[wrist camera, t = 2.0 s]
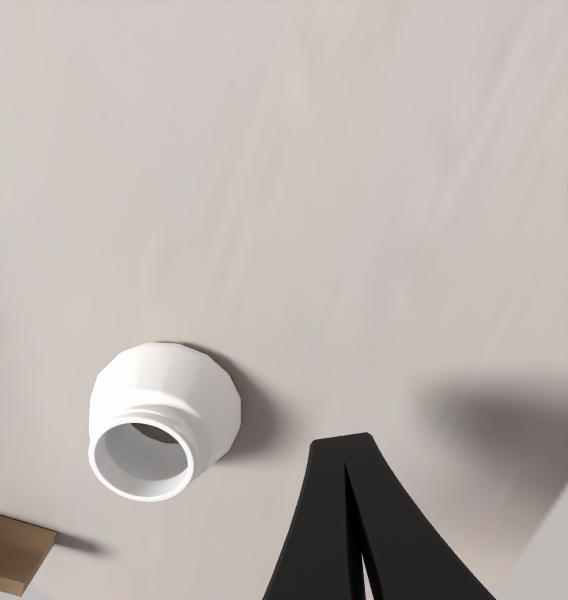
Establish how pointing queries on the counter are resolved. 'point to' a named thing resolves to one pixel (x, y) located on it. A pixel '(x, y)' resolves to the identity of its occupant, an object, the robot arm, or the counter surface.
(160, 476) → the white jar
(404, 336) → the counter surface
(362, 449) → the robot arm
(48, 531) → the gear station
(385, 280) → the counter surface
